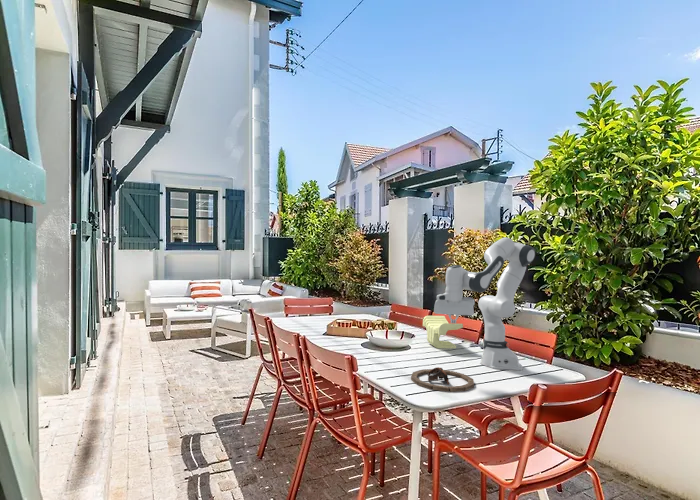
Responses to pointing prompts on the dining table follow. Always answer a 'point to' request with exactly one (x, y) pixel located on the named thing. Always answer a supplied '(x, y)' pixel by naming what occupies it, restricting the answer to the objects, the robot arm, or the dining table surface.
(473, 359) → the dining table surface
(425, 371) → the brown flat ring
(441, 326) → the ribbed pale green clamp
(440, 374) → the dark brown arched piece
